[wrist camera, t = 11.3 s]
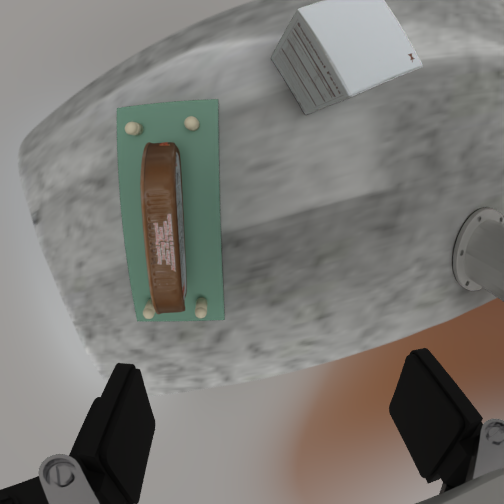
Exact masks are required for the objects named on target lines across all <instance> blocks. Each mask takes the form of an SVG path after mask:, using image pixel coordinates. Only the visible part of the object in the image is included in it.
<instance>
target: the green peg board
mask: <svg viewBox="0 0 504 504" xmlns="http://www.w3.org/2000/svg"><path fill="white" fill-rule="evenodd" d="M148 142H151V143H164V142H173V143H175V144H176V146H177V147H178V149H179V152H180V159H181V172H182V191H183V211H184V234H185V254H186V275H187V294H186V297H185V311H183V312H177V313H161V314H157V313H156V312H155V310H154V307H153V304H152V300H151V295H150V289H149V281H148V272H147V264H146V255H145V245H144V234H143V223H142V209H141V190H140V176H141V162H142V155H143V151H144V148H145V145H146V144H147V143H148ZM117 153H118V174H119V190H120V202H121V214H122V223H123V233H124V241H125V249H126V257H127V264H128V270H129V277H130V283H131V289H132V295H133V301H134V306H135V312H136V317H137V321H206V320H225V317H224V296H223V275H222V251H221V223H220V189H219V132H218V99H211V100H191V101H177V102H165V103H155V104H145V105H137V106H129V107H122V108H117Z"/></svg>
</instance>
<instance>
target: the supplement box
mask: <svg viewBox="0 0 504 504" xmlns="http://www.w3.org/2000/svg"><path fill="white" fill-rule="evenodd" d="M271 59H272V61H273V62H274V64H275V65H276V67H277V68H278V70H279V72H280V73H281V75H282V76H283V78H284V80H285V81H286V83H287V85H288V86H289V88H290V90H291V91H292V93H293V95H294V96H295V98H296V100H297V101H298V103H299V105H300V107H301V108H302V110H303V112H304V113H305V115H308V114H310V113H313V112H315V111H318V110H320V109H322V108H325V107H327V106H330V105H333V104H335V103H338V102H341V101H344V100H346V99H348V98H351V97H353V96H355V95H358V94H360V93H362V92H365V91H367V90H369V89H372V88H374V87H376V86H378V85H381V84H383V83H385V82H388V81H390V80H392V79H395V78H397V77H399V76H402V75H404V74H407V73H409V72H412V71H414V70H417V69H419V68H422V67H423V65H422V63H421V61H420V59H419V57H418V55H417V53H416V51H415V49H414V47H413V45H412V44H411V42H410V40H409V38H408V37H407V35H406V33H405V32H404V30H403V28H402V27H401V25H400V23H399V22H398V20H397V19H396V17H395V15H394V14H393V12H392V11H391V9H390V8H389V6H388V5H387V3H386V2H385V1H384V0H323V1H320V2H317V3H314V4H311V5H308V6H305V7H302V8H299V9H297V11H296V13H295V15H294V16H293V18H292V20H291V22H290V24H289V25H288V27H287V29H286V31H285V32H284V34H283V36H282V38H281V40H280V42H279V43H278V45H277V47H276V49H275V51H274V53H273V55H272V57H271Z"/></svg>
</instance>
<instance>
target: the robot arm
mask: <svg viewBox="0 0 504 504" xmlns="http://www.w3.org/2000/svg"><path fill="white" fill-rule="evenodd" d="M453 270H454V275H455V277H456V280H457V281H458V283H459V284H460V285H461V286H462V287H464V288H465V289H467V290H469V291H477V290H480V289H482V288H484V289H486V290H487V291H489V292H490V293H492V294H493V295H495V296H496V297H498V298H499V299H501V300H502V301H504V217H503V215H502V214H501V213H500V212H499V211H497V210H495V209H492V208H486V207H485V208H481V209H479V210H477V211H475V212H474V213H473V214H472V215H471V216H470V217H469V218H468V219H467V221H466V222H465V224H464V225H463V227H462V229H461V231H460V233H459V235H458V238H457V241H456V244H455V249H454V254H453ZM389 412H390V415H391V417H392V419H393V420H394V423H395V425H396V427H397V428H398V430H399V432H400V434H401V436H402V438H403V440H404V442H405V444H406V446H407V448H408V450H409V452H410V454H411V457H412V458H413V461H414V463H415V465H416V467H417V469H418V471H419V473H420V475H421V476H422V477H423V478H426V480H427V482H428V483H431V482H433V481H436V480H438V479H440V478H441V479H442V481H443V484H442V487H441V490H440V493H439V495H437V496H434V497H432V498H429V499H427V500H424V501H421V502H419V503H416V504H504V421H503V420H500V419H490V420H488V421H486V422H485V423H484V424H482V422H481V421H482V419H483V418H482V417H481V415H480V414H479V413H478V411H477V410H476V409H475V407H474V406H473V405H472V403H471V402H470V401H469V399H468V398H467V397H466V396H465V394H464V393H463V392H462V390H461V389H460V388H459V387H458V385H457V384H456V383H455V382H454V380H453V379H452V378H451V377H450V375H449V374H448V373H447V372H446V371H445V369H444V368H443V367H442V366H441V364H440V363H439V362H438V361H437V360H436V358H435V357H434V356H433V355H432V354H431V352H430V351H429V350H428V349H426V348H423V349H418V350H413V351H411V353H410V355H408V356H407V357H406V360H405V363H404V366H403V369H402V372H401V375H400V379H399V381H398V384H397V387H396V390H395V393H394V395H393V398H392V400H391V403H390V406H389ZM154 431H155V419H154V416H153V413H152V410H151V406H150V403H149V400H148V396H147V393H146V389H145V386H144V382H143V378H142V375H141V371H140V369H136V368H135V366H134V365H133V364H123V363H118V364H116V366H115V368H114V370H113V372H112V374H111V376H110V378H109V380H108V383H107V385H106V387H105V389H104V391H103V393H102V395H101V397H97V398H96V399H95V400H94V402H93V404H92V406H91V408H90V410H89V412H88V414H87V416H86V419H85V421H84V423H83V425H82V428H81V430H80V432H79V434H78V436H77V438H76V441H75V443H74V446H73V448H72V450H71V453H70V455H69V456H67V455H63V454H57V455H52V456H50V457H48V458H47V459H45V460H44V461H43V462H42V464H41V466H40V468H39V476H38V477H35V478H33V479H30V480H28V481H25V482H22V483H19V484H16V485H14V486H10V487H8V488H5V489H2V490H0V504H137V503H138V502H139V498H140V493H141V489H142V484H143V479H144V475H145V470H146V465H147V461H148V456H149V452H150V448H151V443H152V439H153V435H154Z"/></svg>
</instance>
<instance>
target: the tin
mask: <svg viewBox="0 0 504 504" xmlns="http://www.w3.org/2000/svg"><path fill="white" fill-rule="evenodd" d="M140 190H141V209H142V223H143V234H144V245H145V255H146V264H147V272H148V281H149V289H150V295H151V300H152V304H153V307H154V310H155V312H156V313H157V314H161V313H177V312H183V311H185V297H186V294H187V275H186V254H185V234H184V211H183V191H182V172H181V159H180V152H179V149H178V147H177V146H176V144H175V143H173V142H164V143H151V142H148V143H147V144H146V145H145V148H144V151H143V155H142V162H141V176H140Z"/></svg>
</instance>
